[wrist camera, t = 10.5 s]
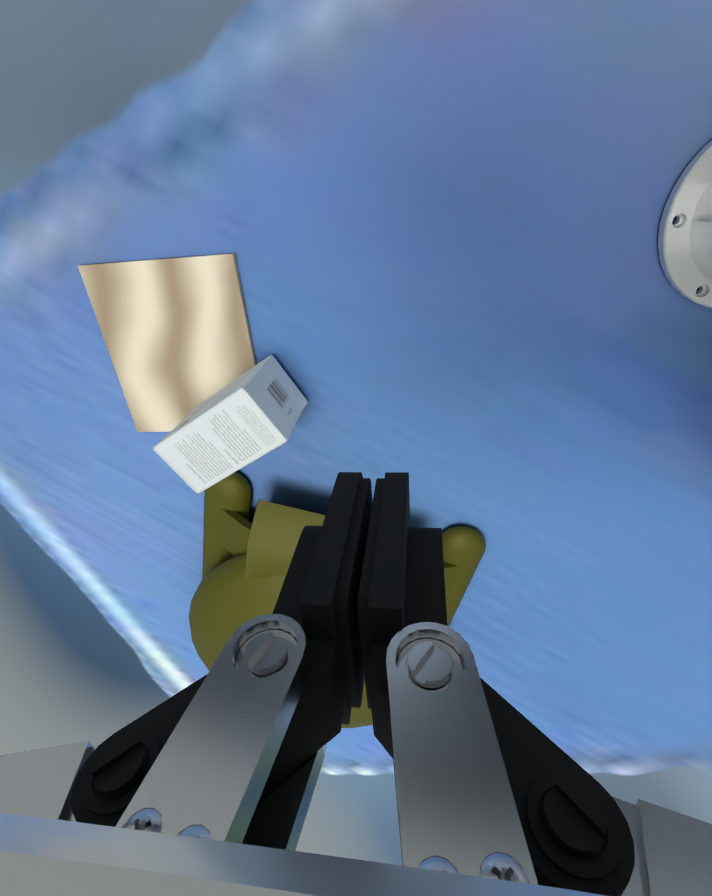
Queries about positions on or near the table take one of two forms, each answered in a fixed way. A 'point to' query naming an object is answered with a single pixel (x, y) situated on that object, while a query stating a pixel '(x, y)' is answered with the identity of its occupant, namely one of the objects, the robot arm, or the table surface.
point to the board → (171, 331)
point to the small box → (234, 426)
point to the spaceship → (279, 567)
